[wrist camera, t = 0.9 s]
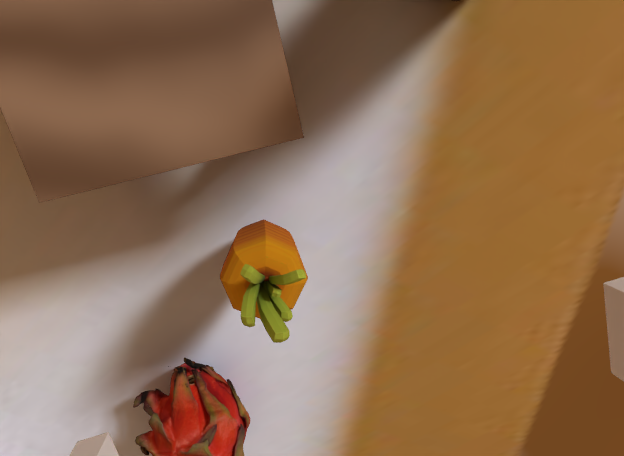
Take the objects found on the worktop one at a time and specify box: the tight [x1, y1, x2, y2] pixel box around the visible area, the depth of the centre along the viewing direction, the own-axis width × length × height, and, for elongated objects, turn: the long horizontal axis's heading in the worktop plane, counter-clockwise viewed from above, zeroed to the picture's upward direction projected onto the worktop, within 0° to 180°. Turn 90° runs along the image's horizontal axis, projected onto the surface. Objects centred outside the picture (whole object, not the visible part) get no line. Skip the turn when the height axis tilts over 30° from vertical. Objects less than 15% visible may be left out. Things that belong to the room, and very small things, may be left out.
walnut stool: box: [0, 0, 304, 203], centre depth 26 cm, size 14×14×10 cm
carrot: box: [220, 220, 308, 342], centre depth 27 cm, size 5×5×15 cm
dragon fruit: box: [133, 358, 250, 456], centre depth 34 cm, size 8×8×12 cm
